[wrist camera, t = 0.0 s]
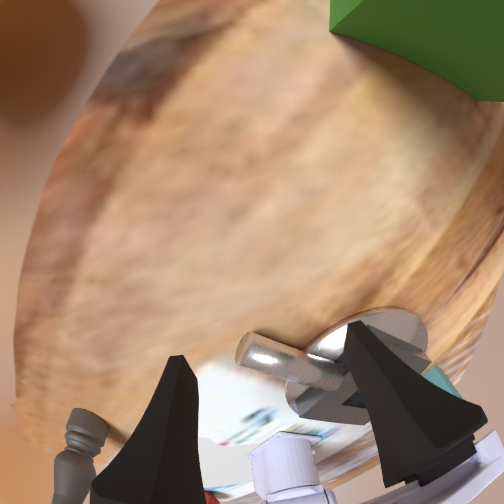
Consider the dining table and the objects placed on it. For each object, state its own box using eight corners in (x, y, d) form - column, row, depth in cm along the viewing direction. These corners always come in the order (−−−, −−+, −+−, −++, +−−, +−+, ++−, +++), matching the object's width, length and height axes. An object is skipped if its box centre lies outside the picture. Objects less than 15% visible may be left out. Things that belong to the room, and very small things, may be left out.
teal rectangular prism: (423, 386, 32) (443, 417, 25) (414, 384, 31) (435, 417, 25) (440, 368, 31) (462, 398, 24) (433, 365, 30) (456, 397, 23)
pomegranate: (223, 485, 45) (209, 499, 37) (227, 508, 42) (214, 524, 33) (194, 484, 46) (177, 496, 37) (199, 506, 42) (182, 520, 34)
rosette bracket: (357, 419, 32) (365, 440, 29) (201, 385, 26) (199, 415, 22) (444, 332, 27) (460, 350, 24) (300, 245, 21) (315, 268, 17)
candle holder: (86, 429, 30) (58, 553, 7) (64, 406, 28) (24, 539, 5) (116, 432, 30) (93, 569, 7) (94, 409, 28) (58, 560, 5)
